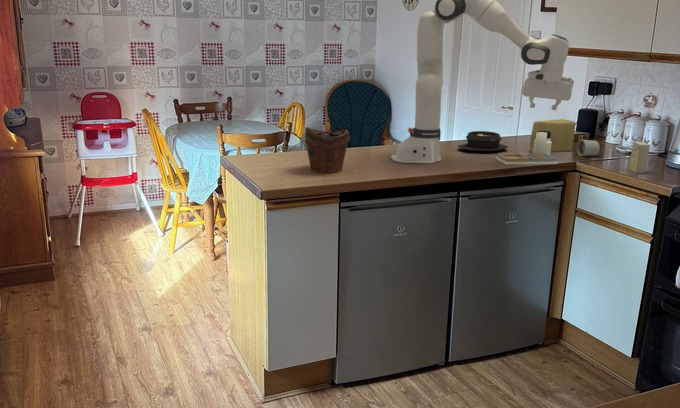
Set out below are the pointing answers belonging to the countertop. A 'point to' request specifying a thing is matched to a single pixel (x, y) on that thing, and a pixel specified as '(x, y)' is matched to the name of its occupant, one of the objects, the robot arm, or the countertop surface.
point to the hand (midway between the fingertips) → (542, 108)
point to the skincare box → (639, 157)
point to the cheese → (556, 134)
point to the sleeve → (540, 145)
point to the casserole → (483, 142)
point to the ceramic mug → (588, 148)
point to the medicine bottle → (548, 142)
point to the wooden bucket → (326, 149)
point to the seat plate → (524, 158)
